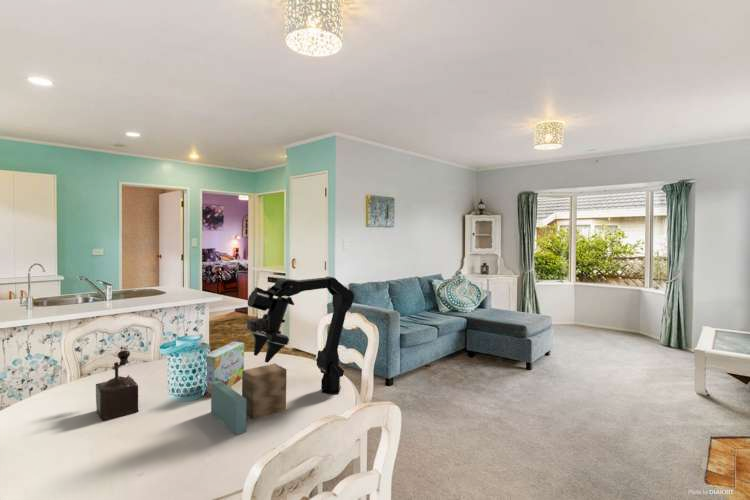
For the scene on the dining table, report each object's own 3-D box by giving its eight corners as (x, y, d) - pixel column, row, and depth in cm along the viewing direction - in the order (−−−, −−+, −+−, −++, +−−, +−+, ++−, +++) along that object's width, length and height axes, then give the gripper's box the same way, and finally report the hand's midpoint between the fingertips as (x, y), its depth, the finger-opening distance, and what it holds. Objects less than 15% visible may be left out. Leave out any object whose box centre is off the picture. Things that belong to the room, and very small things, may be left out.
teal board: (220, 409, 138) (220, 380, 138) (246, 431, 123) (246, 399, 123) (211, 412, 136) (211, 382, 136) (236, 434, 121) (236, 401, 121)
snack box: (214, 398, 148) (214, 356, 147) (200, 396, 149) (200, 355, 148) (244, 378, 169) (244, 341, 168) (232, 376, 170) (232, 340, 169)
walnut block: (274, 402, 145) (274, 363, 144) (285, 409, 139) (286, 369, 138) (241, 411, 137) (242, 370, 136) (252, 420, 131) (253, 377, 130)
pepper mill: (141, 411, 135) (141, 358, 135) (101, 421, 128) (101, 365, 127) (129, 397, 146) (129, 347, 146) (92, 406, 139) (91, 353, 138)
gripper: (244, 304, 144) (228, 347, 141) (266, 312, 129) (249, 361, 126) (272, 311, 150) (257, 353, 147) (296, 321, 136) (280, 367, 133)
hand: (260, 358), depth 138 cm, fingers open, 9 cm apart
